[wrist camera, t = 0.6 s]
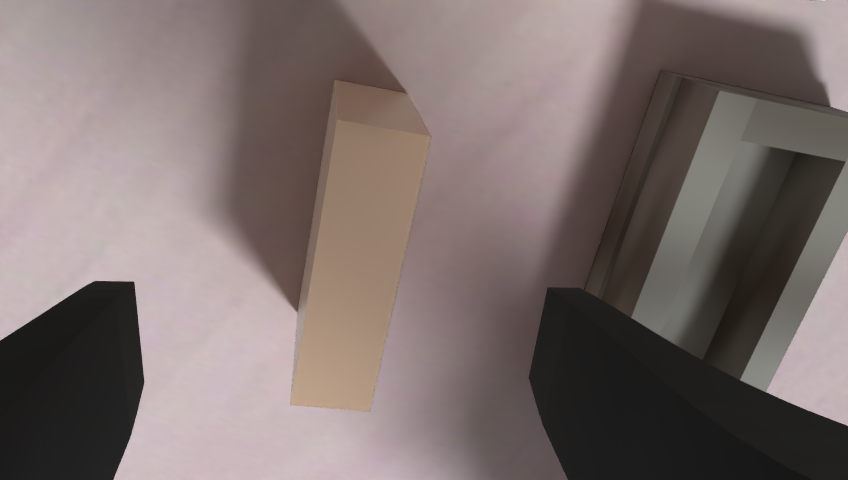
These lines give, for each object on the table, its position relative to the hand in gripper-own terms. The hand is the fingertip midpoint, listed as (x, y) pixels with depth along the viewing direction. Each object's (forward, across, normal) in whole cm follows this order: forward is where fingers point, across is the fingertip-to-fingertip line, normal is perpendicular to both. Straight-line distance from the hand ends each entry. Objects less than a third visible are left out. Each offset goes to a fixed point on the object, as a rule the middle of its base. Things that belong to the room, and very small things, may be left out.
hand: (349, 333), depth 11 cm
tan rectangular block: (+10, 0, +2) cm, 10 cm away
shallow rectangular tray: (+9, -12, +3) cm, 16 cm away
